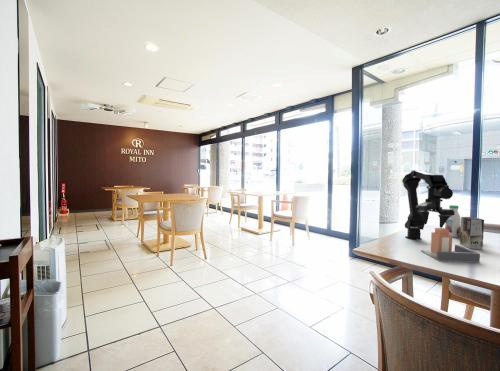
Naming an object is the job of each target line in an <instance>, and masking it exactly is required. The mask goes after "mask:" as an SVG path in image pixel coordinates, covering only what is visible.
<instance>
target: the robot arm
mask: <svg viewBox="0 0 500 371" xmlns="http://www.w3.org/2000/svg"><path fill="white" fill-rule="evenodd" d="M421 180H423V181H424V182H425V184H427V186H426V189H427V198H426V199H424V200H425V201H423V202H421V203H419V199H418V198H419V197H418V192H417V189H418V187H419V185H420V182H421ZM402 183H403V188H404V189H405V190H406V191H407V198H408V207H409V214H408V216H407V220H406V222H405V223H404V228H406V229H407V236H405V238H407V239H410V240H413V241H417V240H423V238H421V233H422V232H421V230H423V231H424V228H425V225H427V223H428V220H429V215H430V212H433V213H438V214H437V216H438V218H439V228H444V226H445V222H446V221H447V220H448V218H449V217H451V216H452V215H454V213H455V212H454V210H451V209H449V208H443V206H441V202H443V200H449V199H452V197H453V196H454V192H453V190H452V189H451V188H450V185H448V183H447V181H446V178H445V177H444V175H443V174H441V173H429V172H426V171H423V170H421V169H413V170H411V171H410V172H409V173H407V174H405V175H404V177H403V178H402Z"/></svg>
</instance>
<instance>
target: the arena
mask: <svg viewBox="0 0 500 371" xmlns="http://www.w3.org/2000/svg"><path fill="white" fill-rule="evenodd" d="M421 252H422V253H423V254H425V255H427V256H429V257H430V258H432V259H434V260H436V261H438V262H458V263H477V264H478V263H480V262H481V260H480V259H481V253H480V252H477V251H474V250H473V249H470V248H468V247H465V246H463V245H461V244H454V251H453V250H452V252H443V251H437V255H436V254H434V253H432V252H431V249H430V250H429V249H428V250H425V249H421Z"/></svg>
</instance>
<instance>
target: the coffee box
mask: <svg viewBox="0 0 500 371" xmlns="http://www.w3.org/2000/svg"><path fill="white" fill-rule="evenodd" d="M460 218H461V234H460V239H459V245H460V246H462V247H464V248H467V249H469V250H473V249H474V250H475V249H476V250H483V245H484V244H483V243H484V231H485V230H484V228H485V227H484V226H485V219H483V218H478V217H475V216H460Z"/></svg>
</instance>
